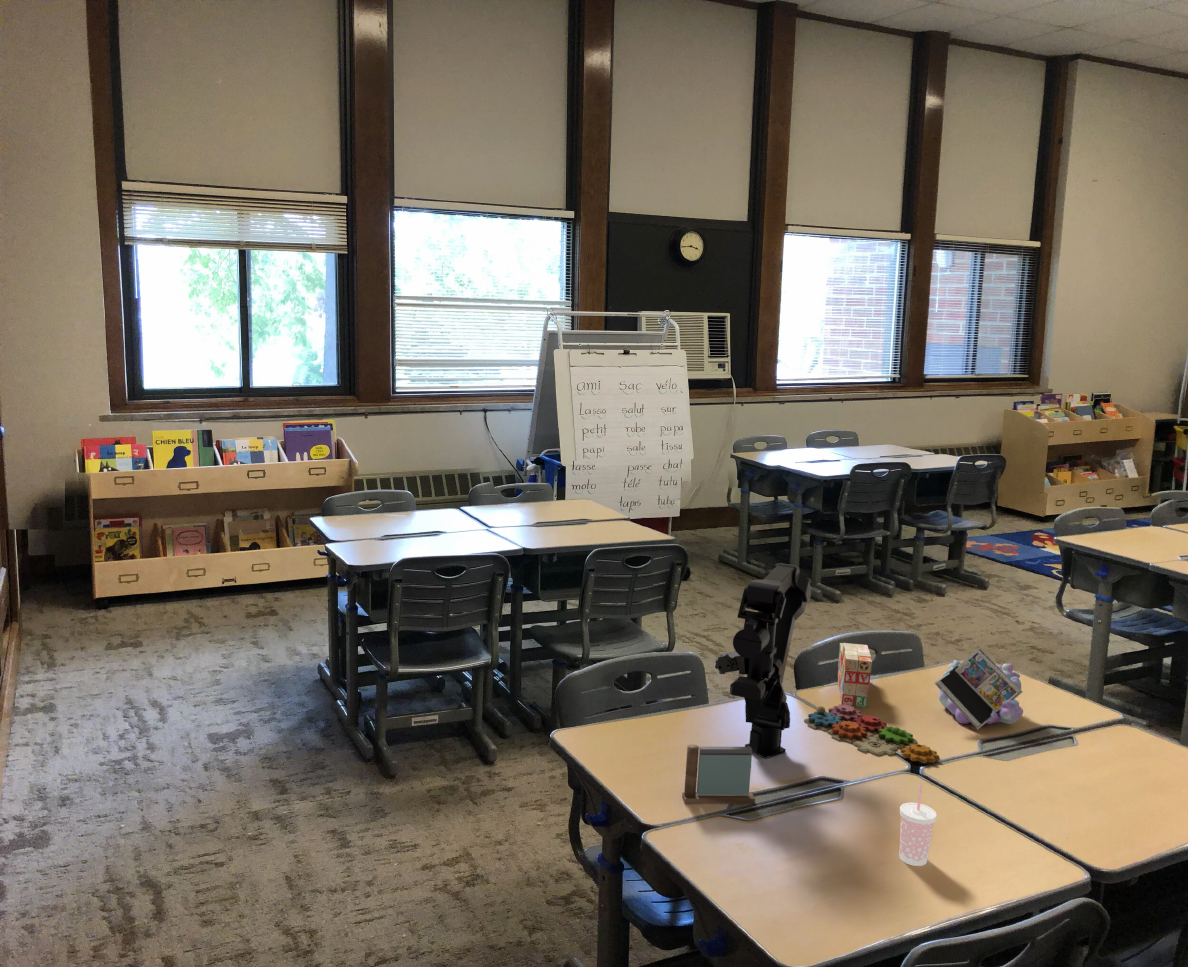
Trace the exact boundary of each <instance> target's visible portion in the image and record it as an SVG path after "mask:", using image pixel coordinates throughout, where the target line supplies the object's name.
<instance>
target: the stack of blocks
mask: <svg viewBox="0 0 1188 967" xmlns="http://www.w3.org/2000/svg"><path fill="white" fill-rule="evenodd" d="M838 647H839V650H838V664H837V665H838V667H837V681H838V682H837V683H838V687H839V688H838V689H839V695H840V705H844V704H846V705H850V706H851V707H854V708H855V707H857V708H864V709H865V708H866V709H867V708H868V702H869V689H870V685H871V683H870V682H871V676H872V675H871V673H872V665H873V661H872V655H871V651H870V649H869V646H868V645H867V644H861V643H860V644H859V643H847V642H840V643H839V646H838Z"/></svg>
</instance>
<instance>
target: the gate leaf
mask: <svg viewBox="0 0 1188 967" xmlns="http://www.w3.org/2000/svg"><path fill="white" fill-rule="evenodd" d="M752 758H753V751H752V748H751V747H745V746H699V754H698V769H697V783H696V792H697V794H698V795H749V792H750V783H751V774H752V773H751V772H752Z"/></svg>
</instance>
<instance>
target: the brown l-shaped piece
mask: <svg viewBox="0 0 1188 967" xmlns="http://www.w3.org/2000/svg"><path fill="white" fill-rule="evenodd" d="M699 750H700V746H699V745H697V744H694V743H693V744H692V743H691V744H688V745H687V749H686V762H685V776H684V777H685V778H684V792H682V795H681V797H682V801H683V803H684V804H685V805H712V804H713V805H722V804H723V805H733V804H734V805H740V804H741V805H745V804H746V805H748V804H749V805H755V804H756V797H755V796H754V794H753V793H752V792H750V791H749V795H698V794H697V779H698V764H699Z"/></svg>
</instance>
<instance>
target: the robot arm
mask: <svg viewBox="0 0 1188 967" xmlns="http://www.w3.org/2000/svg"><path fill="white" fill-rule="evenodd" d="M811 586H812V585H811V582H810V580H809V578H807V577H806V576H805V575H804V574H803V573H802V572H801V571H800V567H799V566H797V565H795V564H787V563H782V562H780V563H775V564H774V566H773V569H772V570H771V571H770V572H769V573H768V575H766V576H765V578H763V579H753V580H750V581H749V582H748V584H747V585H746V586H744V588H743V593H742V597H741V600H740V605H739V608H738V613H737V619H743V620H744V622H743V623H744V624H743V626H742V627H741V628H740V629H739V630H738V631H737V632H736V633H735V634H734V636H733V639H732V646H733V650H734V651H729V652H723V653H721V654H720V655H718V656H717V657H715V666H714V667H715V669H716V670H718V673H719V674H720V675H725V674H727V673H733V672H738V674H739V676H738V677H737V678H735V679H734V680H733V681H732V682H731V683H730V685H729V694H730V695H731V696H734V697H739V698H744V703H745V706H744V709H745V710H744V711H745V712H744V713H745V723H749V724H751V730H750V731H749V732H750V733H749V742H748V743H746V744H744V747H751V748H752V753H755V754H757V755H759V756H761V757H763V758H764V759H767V758H770V757H773V756H777V755H780V754H784V753H785V752H786V748H784V747H783V746H782V745H781V744H782V732H783V731H785V729H790V727H791V712H790V708H789V704H788V703H787V699H788V698H787V694H786V692H785V689H784V686H783V681H784V677H785V671H786V667H787V663H788V657H789V654H790V648H791V643H792V637H793V633H794V628H795V623H796V621H797V620H798V619H799V618H800V617H801V616H802V615H803V614H804V613H805V611H806V607H807V604H808V603H810V601H811V597H812V587H811ZM742 675H743V676H742ZM745 675H746V676H745Z"/></svg>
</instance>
